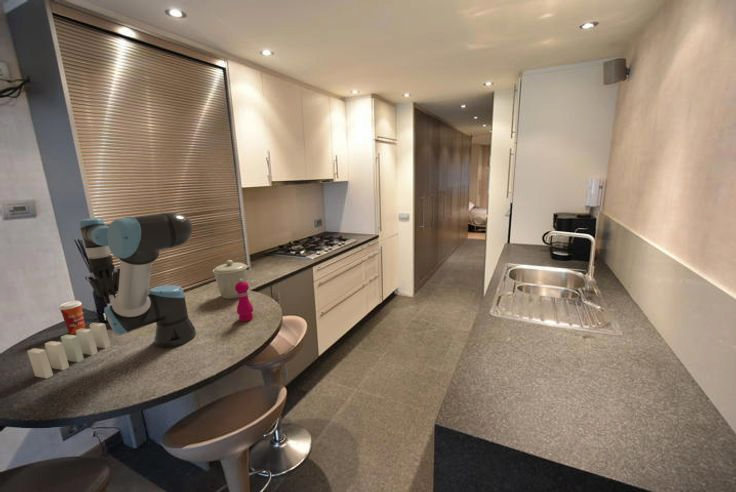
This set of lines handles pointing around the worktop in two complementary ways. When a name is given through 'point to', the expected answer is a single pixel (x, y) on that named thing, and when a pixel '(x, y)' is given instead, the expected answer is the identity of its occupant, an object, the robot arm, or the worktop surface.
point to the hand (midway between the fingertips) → (112, 309)
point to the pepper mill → (243, 301)
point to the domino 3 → (72, 348)
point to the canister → (229, 278)
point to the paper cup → (73, 316)
